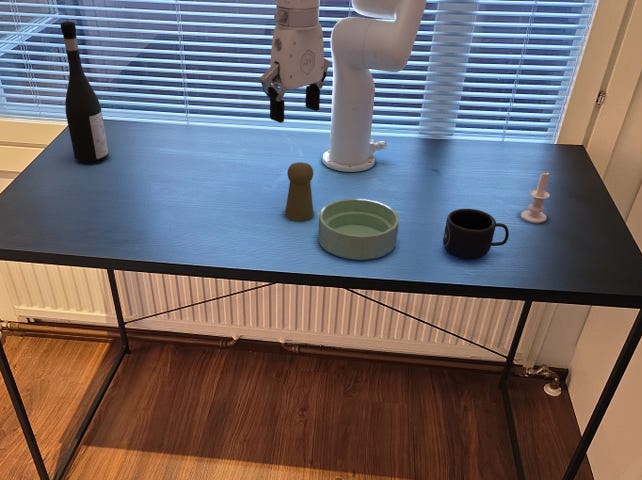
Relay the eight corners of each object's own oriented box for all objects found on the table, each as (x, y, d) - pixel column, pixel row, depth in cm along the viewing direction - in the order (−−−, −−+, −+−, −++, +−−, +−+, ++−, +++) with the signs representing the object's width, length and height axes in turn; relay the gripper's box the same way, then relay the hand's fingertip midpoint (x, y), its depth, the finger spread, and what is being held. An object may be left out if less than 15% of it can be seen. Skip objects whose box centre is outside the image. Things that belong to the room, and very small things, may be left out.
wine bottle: (112, 152, 163) (90, 18, 144) (106, 165, 157) (82, 27, 138) (78, 152, 163) (52, 18, 143) (72, 165, 157) (43, 27, 137)
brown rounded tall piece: (317, 211, 141) (319, 161, 134) (308, 223, 136) (310, 173, 129) (290, 206, 142) (291, 156, 135) (280, 219, 138) (281, 168, 131)
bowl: (366, 217, 139) (369, 192, 135) (411, 250, 129) (414, 224, 125) (304, 233, 133) (304, 208, 130) (345, 269, 123) (347, 243, 119)
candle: (515, 215, 140) (527, 168, 133) (532, 209, 142) (545, 163, 136) (533, 225, 137) (547, 178, 130) (551, 220, 139) (565, 172, 132)
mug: (443, 263, 125) (450, 230, 120) (438, 239, 132) (444, 206, 127) (508, 266, 124) (517, 233, 120) (499, 242, 131) (507, 209, 127)
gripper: (277, 28, 110) (276, 131, 120) (345, 13, 119) (339, 109, 130) (246, 20, 114) (248, 120, 124) (315, 6, 123) (311, 100, 134)
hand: (295, 114), depth 127 cm, fingers open, 9 cm apart
